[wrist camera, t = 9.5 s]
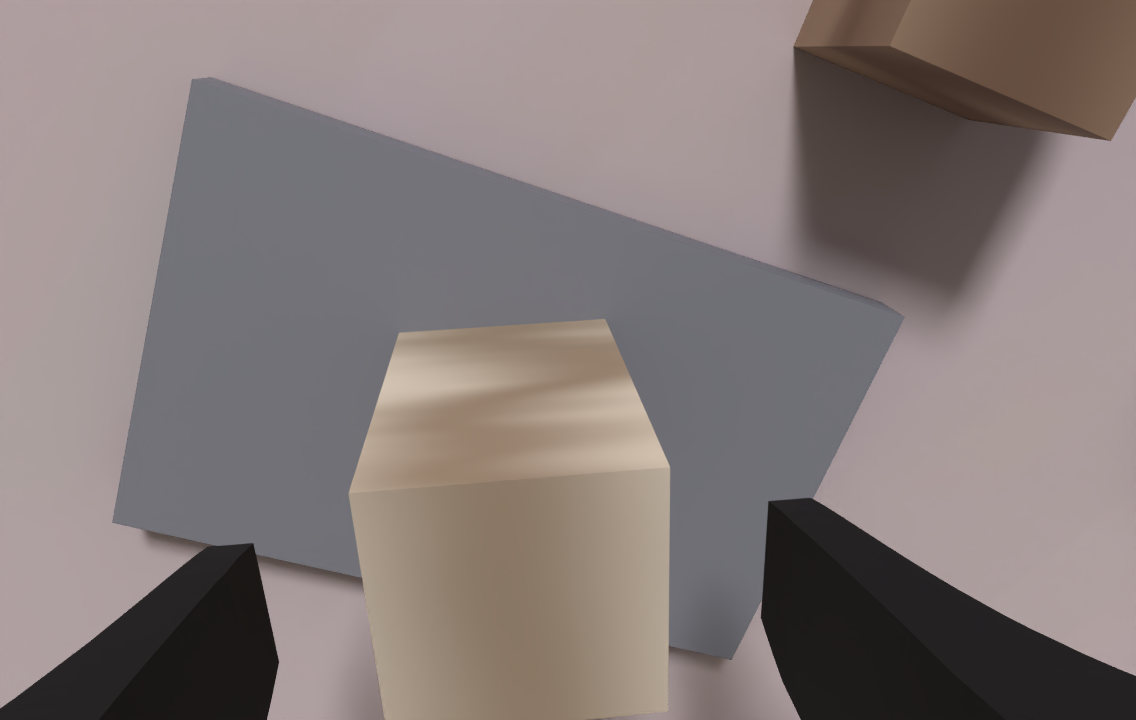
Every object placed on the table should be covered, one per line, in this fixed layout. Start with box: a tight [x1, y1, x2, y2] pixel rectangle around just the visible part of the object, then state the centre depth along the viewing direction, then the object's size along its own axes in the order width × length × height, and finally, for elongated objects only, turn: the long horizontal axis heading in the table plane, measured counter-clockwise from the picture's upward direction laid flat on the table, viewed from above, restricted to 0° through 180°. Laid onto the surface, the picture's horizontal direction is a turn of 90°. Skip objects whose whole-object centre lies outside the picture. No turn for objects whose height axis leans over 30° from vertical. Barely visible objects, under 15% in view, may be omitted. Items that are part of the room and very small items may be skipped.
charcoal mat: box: [112, 78, 904, 660], centre depth 17 cm, size 14×9×1 cm, turn 71°
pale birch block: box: [348, 319, 670, 720], centre depth 13 cm, size 4×4×6 cm
